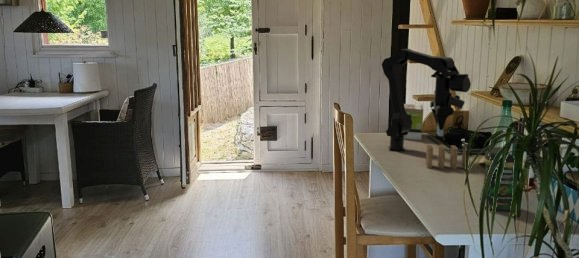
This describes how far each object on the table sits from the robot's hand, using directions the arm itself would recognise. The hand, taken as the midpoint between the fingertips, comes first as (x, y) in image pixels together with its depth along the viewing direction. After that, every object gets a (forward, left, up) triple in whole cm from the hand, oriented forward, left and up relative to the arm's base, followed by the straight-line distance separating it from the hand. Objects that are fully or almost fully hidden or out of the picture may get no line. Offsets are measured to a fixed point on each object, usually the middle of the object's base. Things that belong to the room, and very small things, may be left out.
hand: (440, 128), depth 218 cm
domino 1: (+12, -5, -12) cm, 18 cm away
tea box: (-42, -6, -13) cm, 44 cm away
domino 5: (+12, +8, -12) cm, 19 cm away
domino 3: (+12, -1, -12) cm, 18 cm away
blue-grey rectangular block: (0, 0, -3) cm, 3 cm away
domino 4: (+12, +4, -12) cm, 18 cm away
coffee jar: (+56, +9, -13) cm, 58 cm away
